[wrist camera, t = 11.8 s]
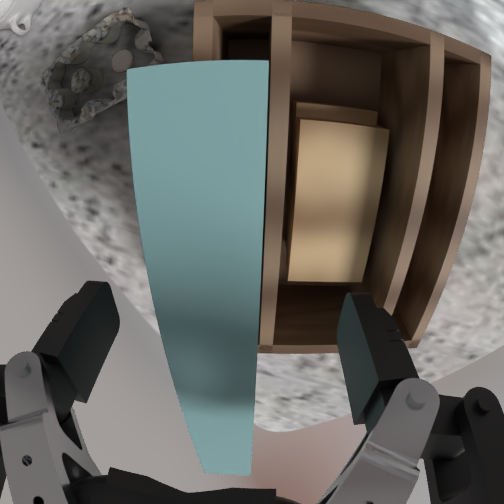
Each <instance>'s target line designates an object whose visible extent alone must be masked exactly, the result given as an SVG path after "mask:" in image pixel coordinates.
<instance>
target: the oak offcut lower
mask: <svg viewBox="0 0 504 504" xmlns="http://www.w3.org/2000/svg"><path fill="white" fill-rule="evenodd" d="M296 116H302V117H315V118H326V119H335V120H344V121H352V122H360V123H367V124H374V125H377V116H378V112H376V111H372V110H368V109H361V108H354V107H347V106H339V105H330V104H321V103H310V102H297V101H293V115H292V136H291V154H290V171H289V187H288V202H287V216H286V230H285V244H286V252H287V244H288V232H289V220H290V207H291V193H292V178H293V163H294V146H295V128H296Z"/></svg>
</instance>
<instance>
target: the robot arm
mask: <svg viewBox="0 0 504 504" xmlns="http://www.w3.org/2000/svg"><path fill="white" fill-rule="evenodd" d="M119 326H120V319H119V314H118V311H117V307H116V304H115V301H114V298H113V294H112V290H111V287H110V285H109V284H108V282H101V281H87V282H86V283H85V284H84V285H83V287H82V288H81V289H80V291H79V292H78V294H77V293H75V294H74V295H73V296H71V297H70V298H69V299H67V300H66V301H65V302H64V303H63V305H62V306H61V308H60V309H59V310H58V314H56V315H55V316H54V318H53V319H52V322H50V323H49V325H48V326H47V328H46V330H45V331H44V332H43V334H42V336H41V337H40V339H39V340H38V342H37V343H36V345H35V346H34V348H33V350H32V351H31V352H28V351H26V352H21V353H18V354H17V355H15V356H14V357H12V358H11V359H10V361H9V362H8V363H7V364H6V365H0V497H1V493H2V490H3V486H4V482H5V479H6V476H7V479H8V484H9V488H10V492H11V496H12V499H13V503H14V504H299V503H297V502H295V501H293V500H290V499H286V498H283V497H278V496H276V489H248V488H247V489H246V488H228V489H221V490H213V491H205V492H195V493H187V492H183V491H180V490H178V489H175V488H173V487H170V486H168V485H165V484H163V483H161V482H158V481H156V480H154V479H152V478H150V477H147V476H144V475H139V474H135V473H131V472H127V471H123V470H119V469H115V468H111V467H110V469H109V472H108V475H101V473H100V471H99V469H98V467H97V466H96V464H95V463H94V462H93V460H92V458H91V457H90V455H89V453H88V450H87V447H86V445H85V442H84V439H83V436H82V433H81V430H80V428H79V424H78V421H77V418H76V415H75V411H74V409H73V408H72V405H73V403H74V400H76V401H80V402H84V403H87V401H88V398H89V396H90V393H91V391H92V388H93V386H94V384H95V382H96V379H97V377H98V375H99V373H100V370H101V368H102V366H103V363H104V361H105V359H106V357H107V355H108V352H109V350H110V348H111V346H112V344H113V342H114V339H115V337H116V335H117V333H118V331H119ZM337 346H338V350H339V355H340V359H341V364H342V368H343V373H344V378H345V382H346V387H347V392H348V397H349V402H350V407H351V412H352V418H353V422H354V425H358V424H365V425H366V430H367V432H366V434H365V435H364V437H363V439H362V440H361V442H360V444H359V445H358V447H357V448H356V450H355V452H354V453H353V455H352V456H351V458H350V459H349V461H348V462H347V464H346V465H345V467H344V468H343V470H342V471H341V473H340V474H339V476H338V477H337V478H336V480H335V481H334V482H333V484H332V485H331V486H330V487H329V489H328V490H327V491H326V493H325V494H324V495H323V496H322V498H321V499H320V500H319V501H318V503H317V504H406V502H407V500H408V498H409V497H410V495H411V493H412V491H413V488H414V486H415V484H416V482H417V480H418V477H419V472H420V470H419V469H418V468H417V463H418V461H419V459H420V458H422V459H424V464H425V470H426V475H427V481H428V488H429V494H430V501H431V504H504V414H503V411H502V408H501V406H500V403H499V401H498V399H497V397H496V396H495V395H494V394H493V393H492V392H491V391H490V390H488V389H486V388H483V387H475V388H472V389H470V390H469V391H468V392H467V393H466V395H465V396H464V397H463V398H460V397H452V396H444V395H439V394H438V392H437V391H436V389H435V388H434V387H433V386H432V385H431V384H430V383H429V382H427V381H425V380H422V379H420V378H419V376H418V374H417V371H416V369H415V366H414V364H413V361H412V359H411V356H410V354H409V352H408V349H407V347H406V344H405V342H403V338H402V335H401V333H400V332H399V328H398V326H397V324H396V322H395V319H394V318H393V317H392V316H391V315H390V314H389V313H388V312H387V311H386V310H385V309H384V308H377V307H376V305H375V303H374V300H373V298H372V296H371V294H370V293H347V294H346V296H345V299H344V303H343V307H342V311H341V315H340V319H339V323H338V327H337Z"/></svg>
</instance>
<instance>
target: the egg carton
mask: <svg viewBox="0 0 504 504" xmlns="http://www.w3.org/2000/svg"><path fill="white" fill-rule="evenodd" d="M127 22H131V23H133V24H134V25H136V26H139V27H141V28H142V29H141V30H139V31H138V33H137V34H136V37H135V46H136V47H137V49H138V50H140V51H142V52H146V53H150V54H154V55H155V59H152V61H151V62H150V63H149V64H148V66H153V65H161V64H162V63H163V58H162V55H161V53H159V52H156V51H154V50H153V49H152V47H150V46H149V45H148V44H149V43H150V42H151V41H152V38H151V35H150V29H149V27H148V25H147V23H145V22H143V21H141V20H138V19H136V20H135V18H134V15H133V13H132V12H131V10H130V8H129V7H126V8H125V7H124V8H122V9H120V10H119V11H117V12H114V13H112V14H110V15H109V16H108V17H106V18H104V19H103V20H101V21H100V22H99V23H98V24H96V25H95V26H96V27H95V28H93V29H92V30H90V31H88V32H87V33H85V34H83V36H82V37H81V38H79V39H78V40H77V41H75V42H74V43H73V44H71V45H70V46H68V47H67V48H66V49H65V50H64V51H63V52H62V53H61V55H60V56H59V57H58V59H57V60H56V61H55V62H54V63H53V65H52V67H51V68H49V69H47V70H45V71H44V72H43V74H42V76H41V78H42V80H44V81H45V83H46V89H45V93H46V94H47V95H48V97H49V104H50V106H51V109H52V114H53V115H54V116H55V117H56V119H57V126H58V129H59V132H60V133H63V132H65V131H68V130H70V129H72V128H74V127H76V126H78V125H80V124H82V123H85V122H88V121H90V120H92V119H93V118H95V117H96V114H98V113H100V112H102V111H104V110H106V109H107V108H109V107H111V106H113V105H114V104H116V103H118V102H120V101H123V100H125V99H127V79H124V80H122V81H121V82H119V83H118V84H114V89H113V91H112V94H113V95H114V97H115V99H114V100H112V99H110V98H102V99H94V100H90V101H87V102H86V103H85V104H84V106H83V107H82V108H81V112H82V113H81V114H80V116H77V117H75V116H74V113H73V106H74V105H75V102H76V93H78V94H79V93H89V92H94V91H97V90H98V89H99V88H100V86H101V85H102V82H103V74H102V72H101V71H100V70H99V69H94V68H84V67H81V68H79V70H78V71H76V72H75V73H74V74H73V76H72V80H71V85H72V88H63V89H62V86H61V84H60V81H61V80H62V78H63V76H64V74H65V66H66V64H81V63H84V62H85V61H86V60H87V59H88V58H89V56H90V54H91V47H92V46H93V45H94V44H95V43H102V44H110V43H113V42H114V41H115V40H116V39H117V38H118V37H119V35H120V33H121V26H123V25H124V24H125V23H127ZM133 61H134V56H133V53H132V52H131V51H130V50H128V49H121V50H119V51H117V52H116V53H115V54H114V55H113V57H112V60H111V67H112V68H113V70H115V71H116V72H125V71H127V69H129V68H130V67H131V66H132V64H133ZM75 92H76V93H75Z"/></svg>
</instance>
